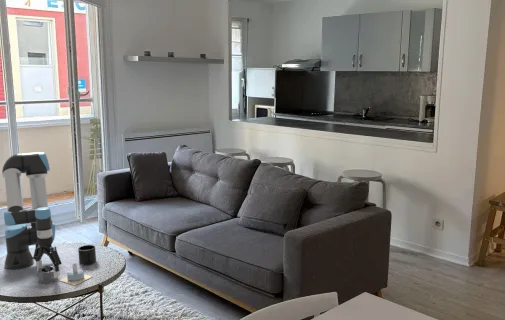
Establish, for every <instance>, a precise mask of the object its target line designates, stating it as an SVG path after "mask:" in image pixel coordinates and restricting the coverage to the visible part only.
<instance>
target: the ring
mask: <svg viewBox="0 0 505 320" xmlns="http://www.w3.org/2000/svg"><path fill="white" fill-rule="evenodd" d="M53 266H54V265H50V271H49V272H45V266H42V268H40V269H39V270H38V273H37V277H38V283H39V284H42V285H47V284H53V283H55V282H58V281H59V277H56V278H54V272H53Z"/></svg>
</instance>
